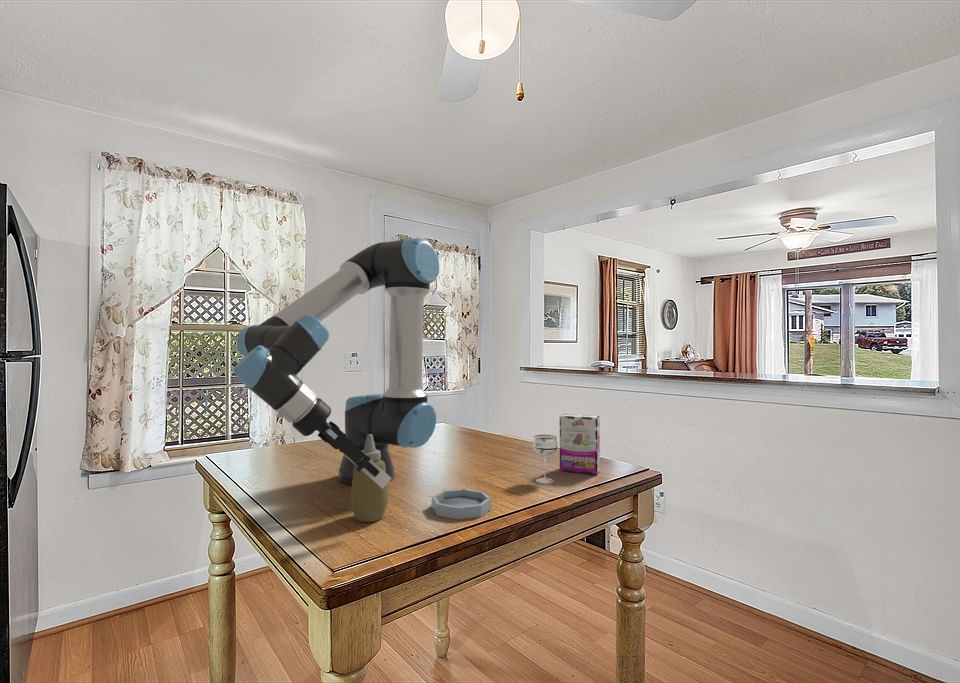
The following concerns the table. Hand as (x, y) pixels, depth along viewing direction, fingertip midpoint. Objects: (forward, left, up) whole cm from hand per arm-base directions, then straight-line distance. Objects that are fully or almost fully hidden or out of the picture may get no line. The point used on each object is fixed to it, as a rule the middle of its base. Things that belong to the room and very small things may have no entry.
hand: (376, 475), depth 107 cm
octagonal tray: (+14, +13, -9) cm, 21 cm away
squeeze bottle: (-1, -1, -9) cm, 9 cm away
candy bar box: (+30, +57, -9) cm, 65 cm away
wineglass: (+24, +43, -9) cm, 50 cm away
